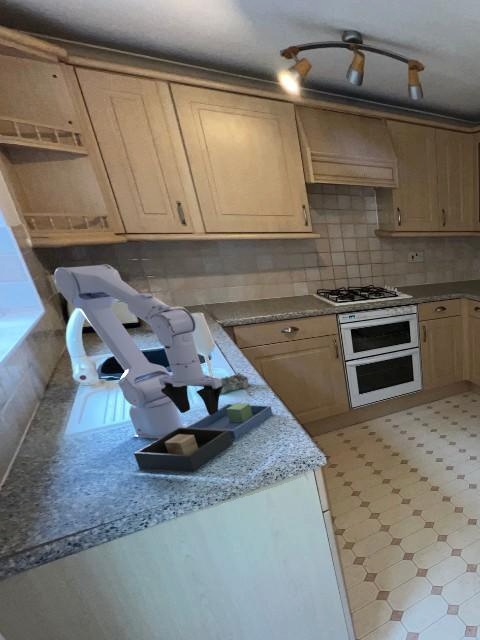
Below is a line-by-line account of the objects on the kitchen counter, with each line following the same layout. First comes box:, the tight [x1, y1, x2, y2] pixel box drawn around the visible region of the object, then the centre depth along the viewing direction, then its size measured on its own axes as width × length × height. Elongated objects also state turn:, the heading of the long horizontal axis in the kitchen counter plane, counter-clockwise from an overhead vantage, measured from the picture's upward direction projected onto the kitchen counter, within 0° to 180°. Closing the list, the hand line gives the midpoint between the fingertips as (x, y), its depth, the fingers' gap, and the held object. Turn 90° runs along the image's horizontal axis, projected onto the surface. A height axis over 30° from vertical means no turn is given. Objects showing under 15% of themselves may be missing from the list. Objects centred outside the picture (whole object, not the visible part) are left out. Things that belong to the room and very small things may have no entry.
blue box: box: [187, 403, 273, 441], centre depth 111 cm, size 13×15×3 cm
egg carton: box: [220, 372, 250, 394], centre depth 135 cm, size 11×8×4 cm
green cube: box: [227, 402, 253, 422], centre depth 114 cm, size 4×4×4 cm
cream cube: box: [165, 434, 198, 455], centre depth 97 cm, size 4×4×4 cm
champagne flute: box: [190, 312, 222, 379], centre depth 137 cm, size 7×7×24 cm
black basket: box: [133, 428, 234, 473], centre depth 96 cm, size 13×12×4 cm
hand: (199, 412), depth 101 cm, fingers open, 7 cm apart
